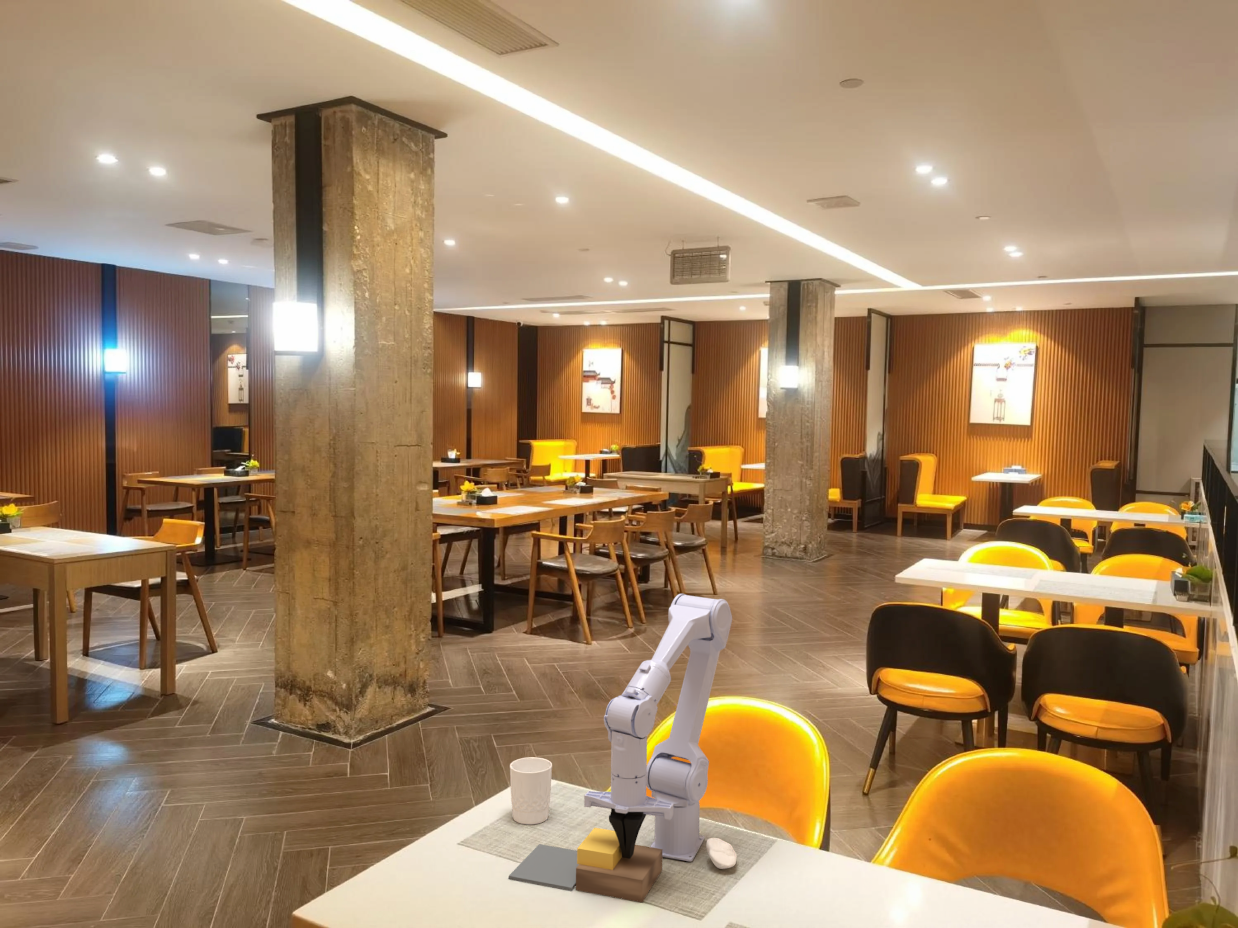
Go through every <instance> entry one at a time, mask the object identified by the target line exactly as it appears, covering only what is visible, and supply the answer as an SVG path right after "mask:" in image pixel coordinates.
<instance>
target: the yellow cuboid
mask: <svg viewBox="0 0 1238 928" xmlns="http://www.w3.org/2000/svg"><path fill="white" fill-rule="evenodd" d="M576 850H577V864H581V865H587V866H593V867H598V868H604V869H610V870H613V869H614V867H615V866H616V865H617V863H618V862H619V860H620V859H621V857H622V854H621V849H620V845H619V841H618V838H617V836H616V833H615V831H614V829H613V830H611V829H605V828H601V827H600V828H599V827H593V828H592V829H591V831H590V832H589V834H588V835H587V836H586V837H585V838H584V839H583V841H582V842H581V843H580V844H579V846H578V847H577V848H576Z"/></svg>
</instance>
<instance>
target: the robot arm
mask: <svg viewBox="0 0 1238 928" xmlns="http://www.w3.org/2000/svg"><path fill="white" fill-rule="evenodd" d="M667 614H668V615H667V616H668V618H667V619H668V626H667V627H666V629H665V632H664V633H663V635H662V638H661V639H660V641H659V644H658V645H657V647H656V650H655V652H654V654H653V655H652V657H651V659H647V660H644V661H642V662H641V663H640V665H639V666H638V668H637V669H636V671H635V673H634V674H633V676H632V678H631V679H630V681H629V682H628V684H627V686H626V687H625V689H624V691H623V692H622V693H621V695H618V696H616V697H613V698H612V699H611V700H610V701H609V702H608V704H607V706H606V709H605V713H604V716H603V724H604V726H605V728H606V730H607V740H608V741H609V742H610V744H611V746H610V754H611V755H610V756H611V757H610V791H594V790H588V791H587V792H586V793H585V794H584V800H583V801H584V802H583V804H584V805H583V807H585V808H592V807H597V808H601V809H608V810H610V814H609V815H608V821H609V824H610V825H611V826H612V829H613V831H615V833H616V836H617V838H618V841H619V845H620V849H621V854H622V858H628V859H630V858H631V857H632V855H633V854H634V848H635V845H636V842H637V838H638V836H639V833H640V830H641V828H642V824H643V822H644V821H645V818H646V816H654V840H653V842H652V843H651V845H650V846H649V847H652V848H658V849H663V850H662V858H665V859H666V858H667V859H672V860H679V861H683V862H684V861H686V862H692V861H693V860H694V859H695V856H696V855H697V853H698V852H699V850H700V849H701V846H702V844H703V843H704V840H705V835H701V834H700V816H701V815H700V811H701V809H700V801H701V799H703V797H704V795H705V793H706V792H707V789H708V788H707V787H708V781H709V780H708V779H709V778H708V774H709V773H708V771H709V765H710V764H709V763H710V760H709V759H708V757H707V756H706V754H705V753H704V752H703V750H702V749H701V747H700V746H699V742H700V737H701V733H702V730H703V726H704V721H705V716H706V713H707V709H708V706H709V705H708V704H709V699H710V695H711V691H712V688H713V683H714V678H715V675H716V670H717V665H718V662H719V658H720V653H721V651H722V650H724V649H726V646H727V643H728V640H729V635H730V630H731V627H732V622H733V615H732V612H731V607H730V605H729V603H728V601H727V600H726V599H724V598H719V599H718V598H717V599H716V598H710V597H702V596H697V595H695V596H694V595H688V594H685V593H678V594H677V595H676V596H675V597H674V598H673V600H672V602H671V604H670V606H669V608H668V613H667ZM687 647H688V648H689V652H690V653H689V657H688V660H687V665H686V668H685V673H684V677H683V680H682V681H683V682H682V686H681V688H680V689H681V690H680V693H679V696H678V697H679V698H678V701H677V706H676V709H675V714H674V717H673V721H672V726H671V731H670V733H669V737H668V738H666V739H665V740H663V741H662V742H659V743H658V744H657V745H656V744H655V746H654V750H653V753H652V755H651V758H650V759H649V761H648V762H647V760H648V759H647V757H648V753H647V752H648V750H647V749H648V735H649V734H650V733H651V731H652V730H653V729H654V726H655V722H656V721H655V720H656V715H657V712H658V709H659V708H658V704H659V703H660V701H661V699H662V697H663V695H664V694H665V692H666V690H667V689H668V687H669V685H670V683H671V681H672V676H671V672H670V670H671V669H672V667H673V666H674V664H675V663H676V662H677V661H678V660H679V657H680V656H681V655H682V653H684V651H685V649H687ZM676 758H680V759H684V760H687V761H689V762H686V761H684V760H679V759H676ZM647 789H648V790H650V791H651V796H649V795H647Z"/></svg>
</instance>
